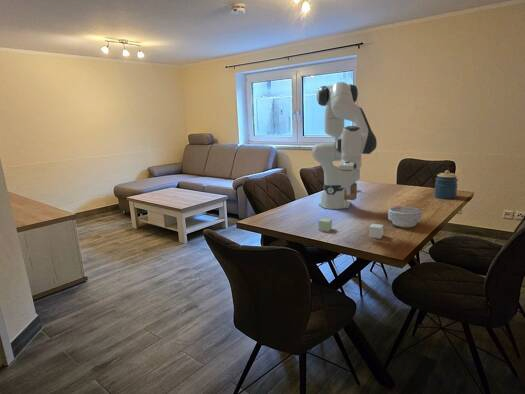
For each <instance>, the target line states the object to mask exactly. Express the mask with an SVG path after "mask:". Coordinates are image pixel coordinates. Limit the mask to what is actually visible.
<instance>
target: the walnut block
mask: <svg viewBox="0 0 525 394" xmlns="http://www.w3.org/2000/svg"><path fill="white" fill-rule="evenodd" d="M357 187H358V183H354V184H352V185H351V194H350V195H347V194H346V188H345V187H344V200H349V201H355V200H356V199H357V194H358V192H357V190H358V188H357Z"/></svg>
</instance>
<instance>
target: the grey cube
mask: <svg viewBox="0 0 525 394" xmlns="http://www.w3.org/2000/svg"><path fill="white" fill-rule="evenodd" d="M368 232H369V233H368V237H369V238H370V239H371V238H373V239H378V240H379V239H380V240H381V239H382V237H383V235H384V224H378V223H371V224H370V225H369V231H368Z"/></svg>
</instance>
